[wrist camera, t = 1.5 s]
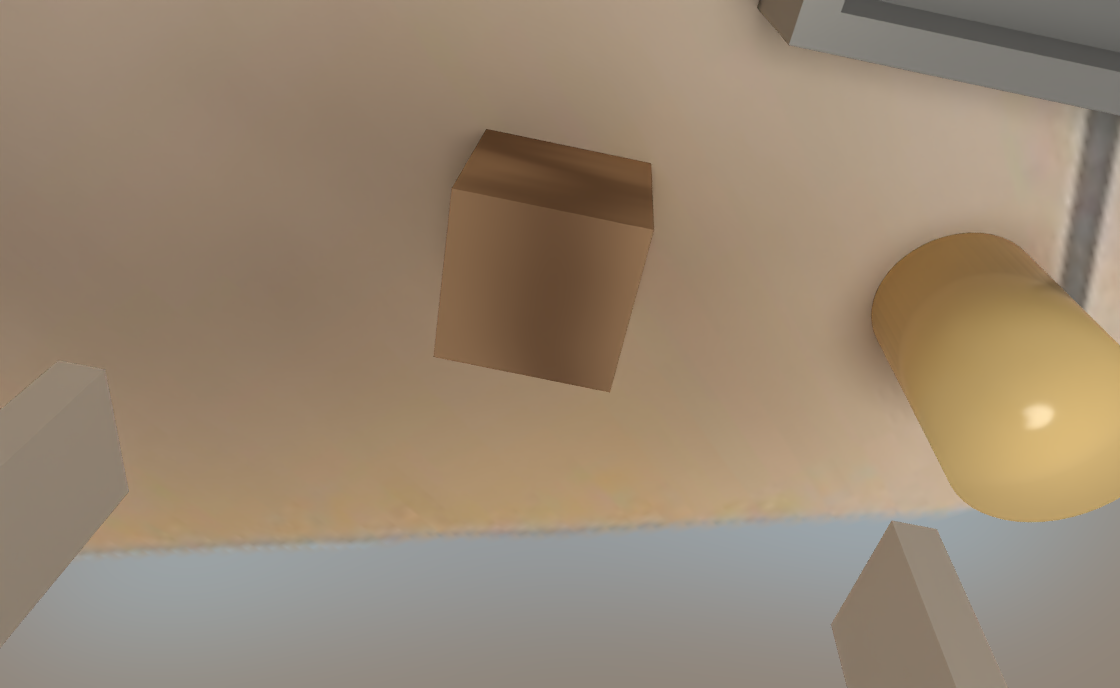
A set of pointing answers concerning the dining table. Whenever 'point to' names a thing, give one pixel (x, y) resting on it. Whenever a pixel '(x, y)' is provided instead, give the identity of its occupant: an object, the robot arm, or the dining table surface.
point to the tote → (972, 41)
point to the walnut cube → (543, 259)
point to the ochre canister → (1004, 378)
